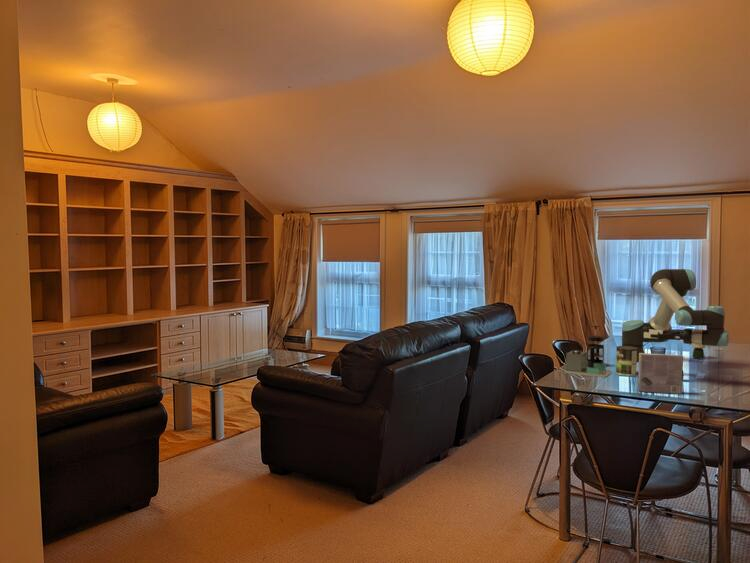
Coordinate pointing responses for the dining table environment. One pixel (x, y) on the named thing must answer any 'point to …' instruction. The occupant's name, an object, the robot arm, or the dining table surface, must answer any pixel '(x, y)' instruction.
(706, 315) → the robot arm
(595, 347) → the french press
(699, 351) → the character mug
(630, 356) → the coffee can
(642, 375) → the cake pan box
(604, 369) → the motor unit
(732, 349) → the dining table surface
